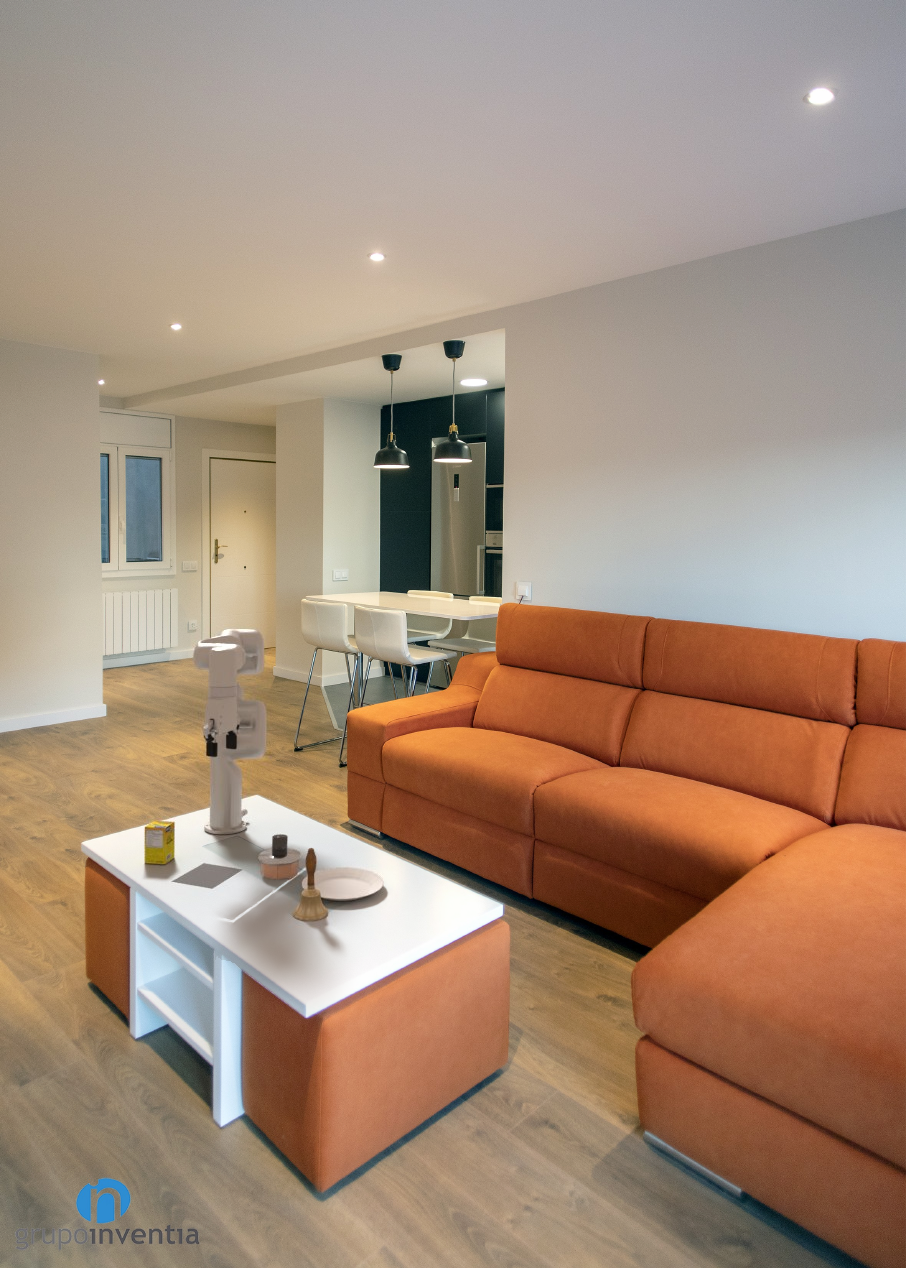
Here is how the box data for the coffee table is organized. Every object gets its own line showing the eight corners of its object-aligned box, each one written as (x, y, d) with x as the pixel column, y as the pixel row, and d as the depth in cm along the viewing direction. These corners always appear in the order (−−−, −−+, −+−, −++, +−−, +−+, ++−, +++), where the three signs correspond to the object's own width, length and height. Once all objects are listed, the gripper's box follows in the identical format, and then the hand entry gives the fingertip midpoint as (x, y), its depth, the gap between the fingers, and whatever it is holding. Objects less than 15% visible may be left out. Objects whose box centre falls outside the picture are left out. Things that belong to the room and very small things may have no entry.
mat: (203, 865, 219) (203, 863, 219) (242, 871, 216) (242, 869, 216) (171, 883, 206) (171, 881, 206) (212, 890, 202) (212, 888, 202)
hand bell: (311, 924, 185) (313, 857, 184) (285, 915, 190) (286, 849, 188) (335, 912, 192) (337, 847, 191) (309, 903, 197) (310, 840, 196)
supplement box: (174, 859, 222) (175, 821, 222) (165, 867, 217) (165, 827, 216) (154, 858, 223) (154, 819, 222) (143, 865, 217) (144, 826, 216)
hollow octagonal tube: (272, 866, 220) (273, 850, 220) (302, 870, 218) (302, 854, 217) (255, 877, 212) (255, 861, 211) (286, 882, 209) (286, 865, 209)
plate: (284, 895, 202) (284, 886, 201) (334, 869, 220) (334, 861, 220) (352, 914, 192) (352, 905, 192) (398, 885, 211) (398, 877, 210)
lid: (271, 848, 221) (272, 828, 221) (307, 854, 218) (308, 833, 218) (250, 861, 211) (250, 840, 210) (287, 867, 208) (288, 845, 207)
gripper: (227, 686, 231) (226, 744, 233) (192, 695, 215) (191, 758, 216) (250, 688, 229) (249, 747, 231) (216, 697, 213) (216, 761, 214)
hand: (221, 752), depth 224 cm, fingers open, 9 cm apart
